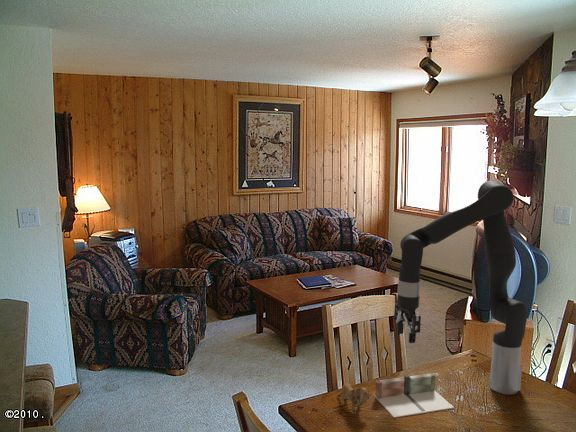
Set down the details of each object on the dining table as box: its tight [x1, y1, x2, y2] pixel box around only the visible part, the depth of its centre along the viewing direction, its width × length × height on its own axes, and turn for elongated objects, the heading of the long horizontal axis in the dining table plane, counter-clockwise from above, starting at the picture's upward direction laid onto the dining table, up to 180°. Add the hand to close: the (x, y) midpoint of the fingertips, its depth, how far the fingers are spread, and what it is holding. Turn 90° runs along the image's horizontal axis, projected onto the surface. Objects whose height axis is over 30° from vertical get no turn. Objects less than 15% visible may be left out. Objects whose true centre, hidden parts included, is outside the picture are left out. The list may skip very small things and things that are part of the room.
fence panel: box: [374, 377, 404, 399], centre depth 170 cm, size 10×2×6 cm, turn 106°
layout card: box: [374, 390, 455, 419], centre depth 167 cm, size 22×14×1 cm, turn 106°
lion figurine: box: [337, 383, 372, 415], centre depth 164 cm, size 15×5×9 cm, turn 34°
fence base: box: [403, 372, 436, 395], centre depth 173 cm, size 12×2×6 cm, turn 106°
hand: (405, 338), depth 173 cm, fingers open, 8 cm apart
